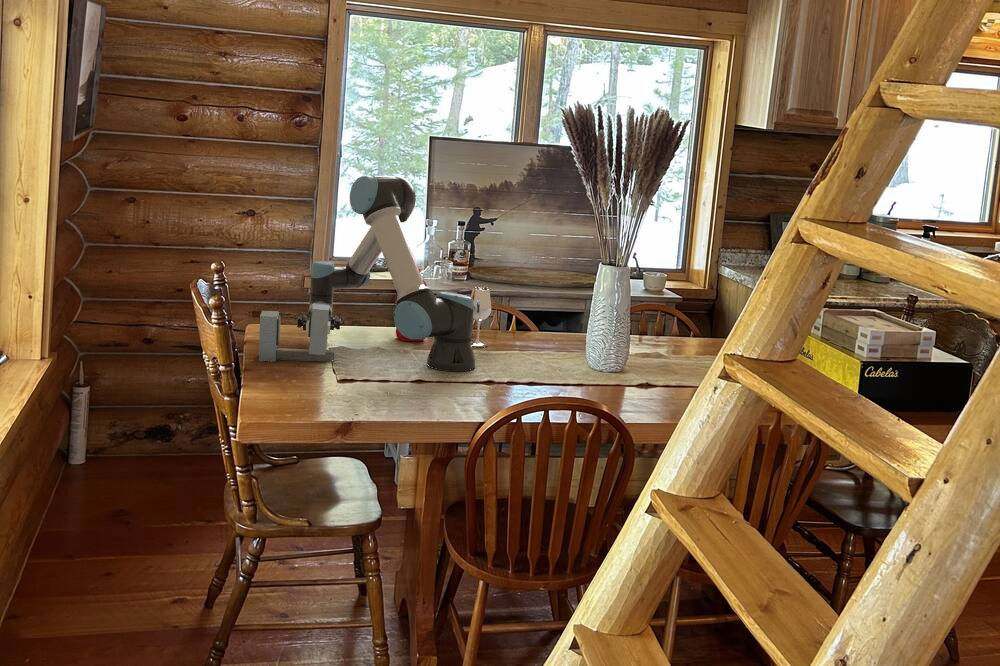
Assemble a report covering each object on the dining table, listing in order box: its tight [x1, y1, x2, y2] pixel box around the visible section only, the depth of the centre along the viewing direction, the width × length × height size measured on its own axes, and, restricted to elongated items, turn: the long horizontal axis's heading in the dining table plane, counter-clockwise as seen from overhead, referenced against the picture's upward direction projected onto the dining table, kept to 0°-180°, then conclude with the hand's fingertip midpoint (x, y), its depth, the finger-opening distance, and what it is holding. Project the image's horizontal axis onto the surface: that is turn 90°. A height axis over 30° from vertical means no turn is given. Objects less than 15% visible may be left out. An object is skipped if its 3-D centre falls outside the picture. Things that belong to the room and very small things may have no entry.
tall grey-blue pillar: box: [307, 304, 329, 355], centre depth 323 cm, size 9×6×14 cm, turn 9°
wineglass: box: [471, 286, 492, 346], centre depth 361 cm, size 8×8×20 cm
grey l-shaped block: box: [258, 310, 335, 363], centre depth 322 cm, size 22×9×14 cm, turn 98°
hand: (318, 329), depth 317 cm, fingers closed on tall grey-blue pillar, 6 cm apart
